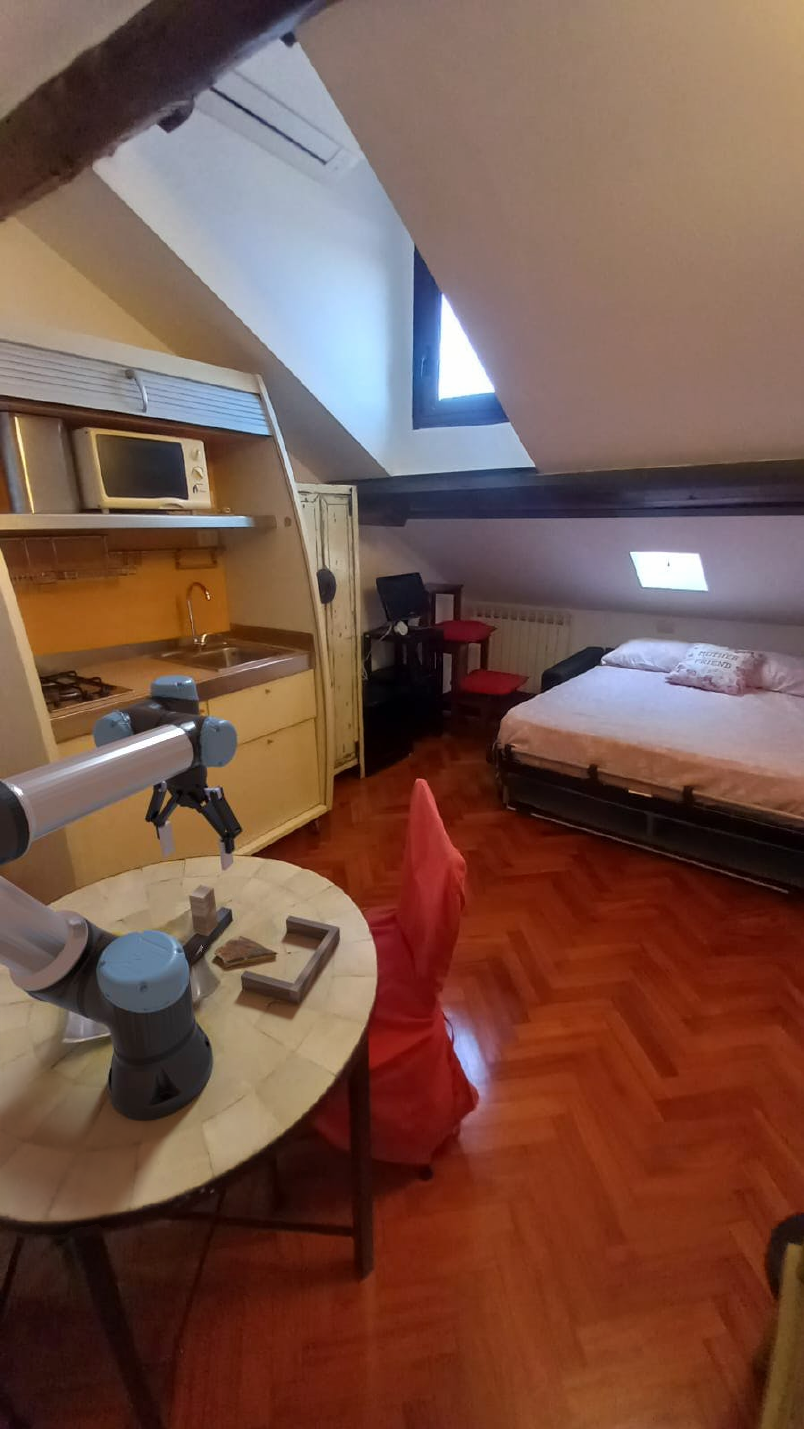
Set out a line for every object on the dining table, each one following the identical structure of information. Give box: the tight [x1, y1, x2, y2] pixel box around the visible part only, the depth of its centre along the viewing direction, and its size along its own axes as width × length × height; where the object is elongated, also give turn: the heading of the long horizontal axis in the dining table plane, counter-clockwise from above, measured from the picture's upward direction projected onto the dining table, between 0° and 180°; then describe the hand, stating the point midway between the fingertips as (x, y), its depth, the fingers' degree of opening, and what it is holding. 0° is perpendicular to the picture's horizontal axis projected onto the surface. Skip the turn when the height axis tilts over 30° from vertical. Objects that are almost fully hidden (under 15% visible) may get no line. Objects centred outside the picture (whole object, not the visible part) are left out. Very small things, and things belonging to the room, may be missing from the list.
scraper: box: [182, 884, 234, 966], centre depth 120 cm, size 14×3×12 cm, turn 161°
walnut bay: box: [240, 915, 341, 1006], centre depth 115 cm, size 18×12×3 cm, turn 161°
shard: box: [213, 935, 278, 969], centre depth 117 cm, size 11×8×2 cm
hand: (197, 860), depth 116 cm, fingers open, 13 cm apart
